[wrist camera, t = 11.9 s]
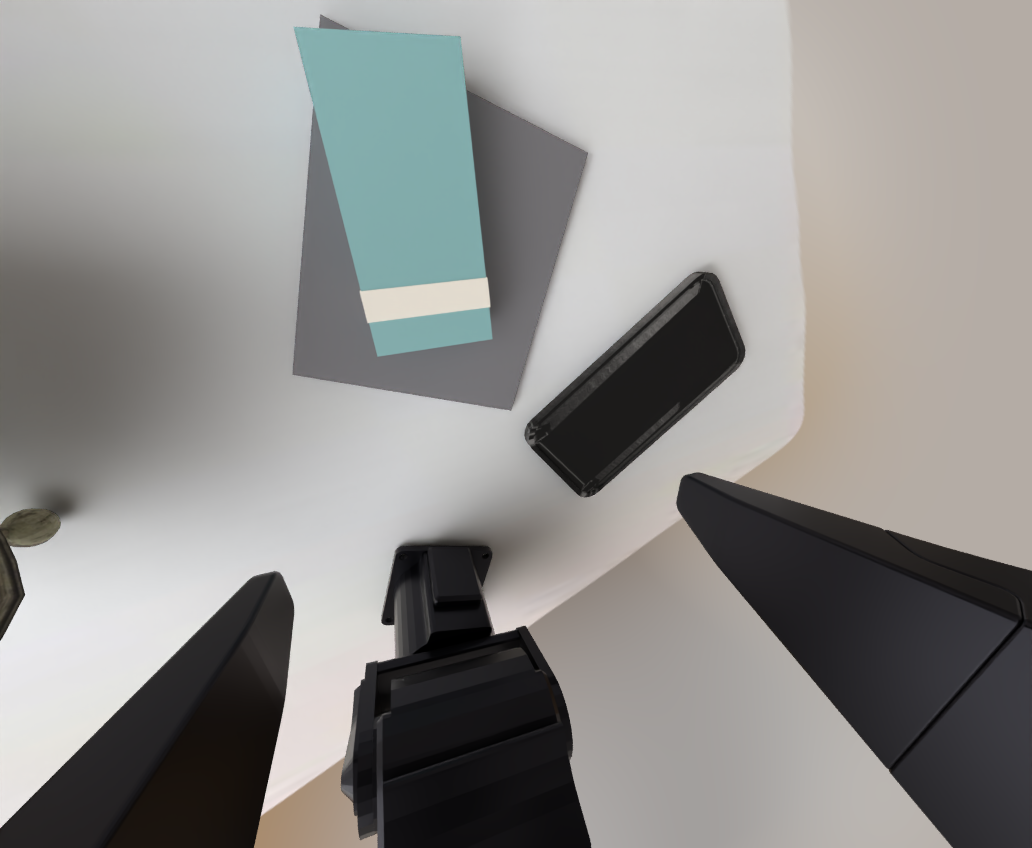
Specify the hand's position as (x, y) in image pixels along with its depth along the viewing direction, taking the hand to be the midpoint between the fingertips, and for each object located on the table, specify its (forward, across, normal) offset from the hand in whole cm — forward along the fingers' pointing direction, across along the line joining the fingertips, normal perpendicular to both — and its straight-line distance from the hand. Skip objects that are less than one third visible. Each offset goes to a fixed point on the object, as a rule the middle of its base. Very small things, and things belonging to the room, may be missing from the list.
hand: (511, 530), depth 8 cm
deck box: (+11, 0, -2) cm, 11 cm away
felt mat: (+13, -1, -5) cm, 14 cm away
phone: (+14, -13, +3) cm, 19 cm away
